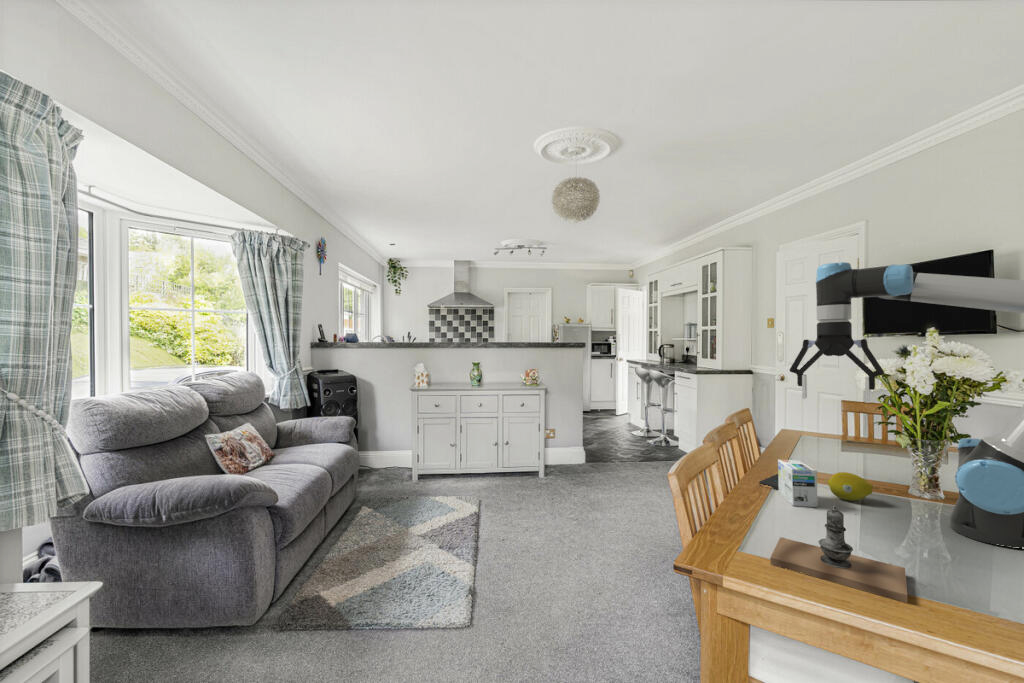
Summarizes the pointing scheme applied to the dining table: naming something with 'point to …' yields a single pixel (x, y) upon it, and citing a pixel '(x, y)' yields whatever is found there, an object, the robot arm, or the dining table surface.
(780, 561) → the walnut board
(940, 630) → the dining table surface
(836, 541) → the grey tall carved piece
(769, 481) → the smart home device
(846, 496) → the lemon
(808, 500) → the light bulb box
